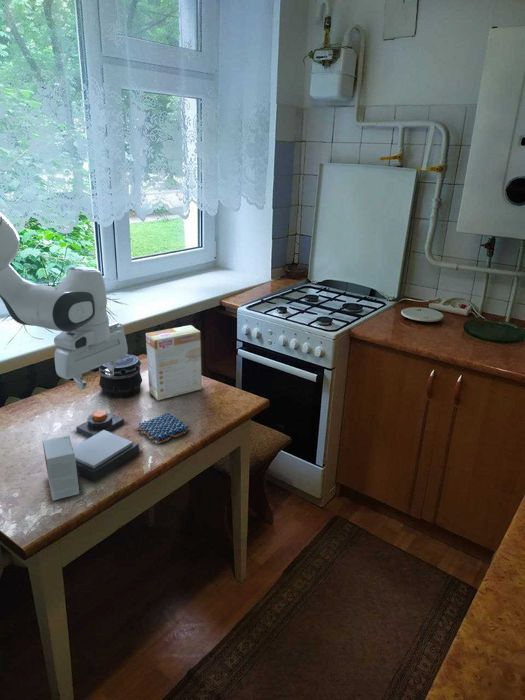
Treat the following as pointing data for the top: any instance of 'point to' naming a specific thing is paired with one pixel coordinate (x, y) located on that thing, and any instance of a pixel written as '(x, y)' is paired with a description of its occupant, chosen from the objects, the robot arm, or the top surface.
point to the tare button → (99, 416)
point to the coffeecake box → (174, 361)
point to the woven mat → (163, 428)
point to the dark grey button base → (99, 425)
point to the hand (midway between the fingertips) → (96, 381)
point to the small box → (61, 467)
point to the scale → (102, 454)
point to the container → (122, 377)
